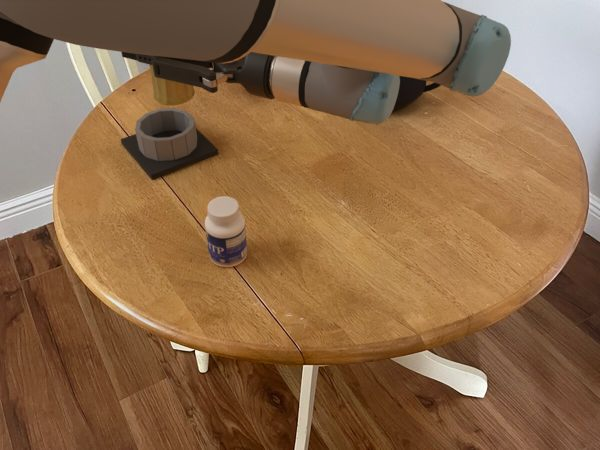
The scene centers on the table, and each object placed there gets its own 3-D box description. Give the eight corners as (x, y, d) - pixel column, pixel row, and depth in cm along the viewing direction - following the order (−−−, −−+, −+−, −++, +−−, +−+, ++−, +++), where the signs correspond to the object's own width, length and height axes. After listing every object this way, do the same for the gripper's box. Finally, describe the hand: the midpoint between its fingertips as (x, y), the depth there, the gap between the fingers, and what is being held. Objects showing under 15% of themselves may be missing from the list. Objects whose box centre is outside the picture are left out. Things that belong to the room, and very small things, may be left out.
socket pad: (152, 180, 92) (146, 154, 89) (121, 144, 99) (115, 118, 96) (218, 154, 97) (215, 128, 94) (185, 121, 104) (181, 96, 101)
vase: (176, 110, 85) (159, 14, 75) (144, 98, 87) (125, 3, 77) (203, 92, 88) (191, -2, 79) (172, 81, 91) (157, -12, 81)
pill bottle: (201, 253, 80) (193, 204, 74) (232, 235, 83) (227, 187, 77) (224, 274, 77) (218, 225, 71) (255, 255, 80) (252, 207, 74)
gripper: (248, 131, 73) (99, 91, 80) (309, 67, 85) (175, 37, 92) (244, 77, 68) (86, 39, 75) (309, 17, 80) (168, -11, 87)
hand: (135, 38), depth 84 cm, fingers closed on vase, 5 cm apart
